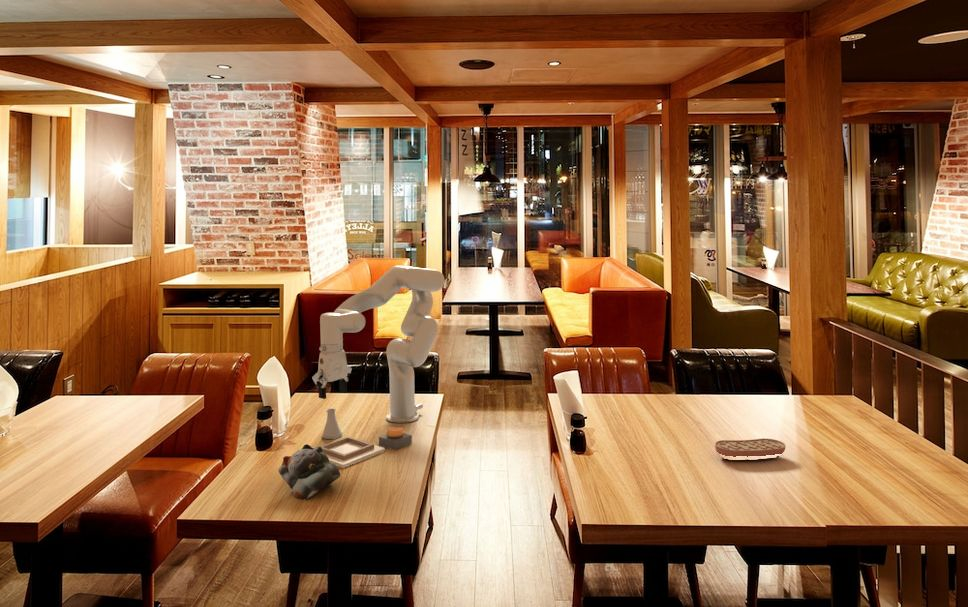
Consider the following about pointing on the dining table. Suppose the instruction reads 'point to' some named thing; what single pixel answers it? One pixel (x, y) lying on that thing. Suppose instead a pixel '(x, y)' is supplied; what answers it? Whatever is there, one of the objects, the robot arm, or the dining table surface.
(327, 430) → the flask
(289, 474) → the lucky cat figurine
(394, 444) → the button base
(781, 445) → the brown flat oval piece
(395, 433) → the button
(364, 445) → the tray
